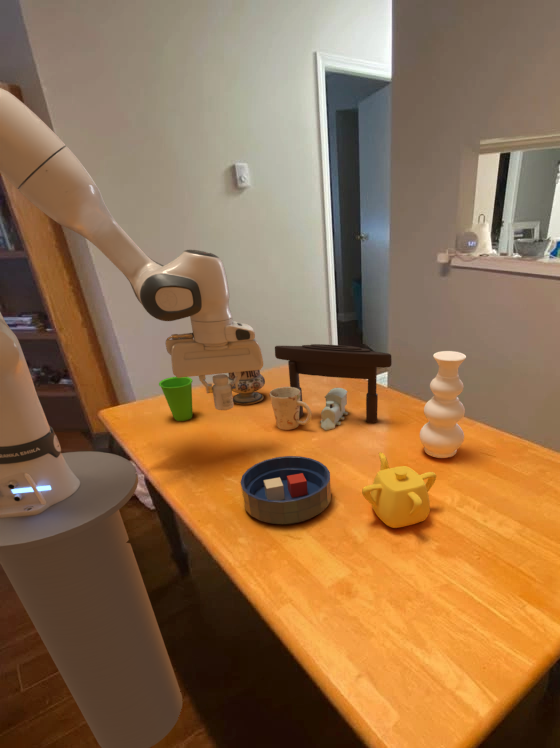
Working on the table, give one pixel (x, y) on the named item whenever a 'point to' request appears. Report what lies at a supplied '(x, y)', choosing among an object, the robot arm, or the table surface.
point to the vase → (444, 408)
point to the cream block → (274, 489)
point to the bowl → (286, 490)
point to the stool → (335, 374)
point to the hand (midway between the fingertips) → (222, 391)
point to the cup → (178, 396)
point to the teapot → (399, 494)
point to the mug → (288, 407)
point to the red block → (297, 485)
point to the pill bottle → (222, 392)
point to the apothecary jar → (248, 387)
